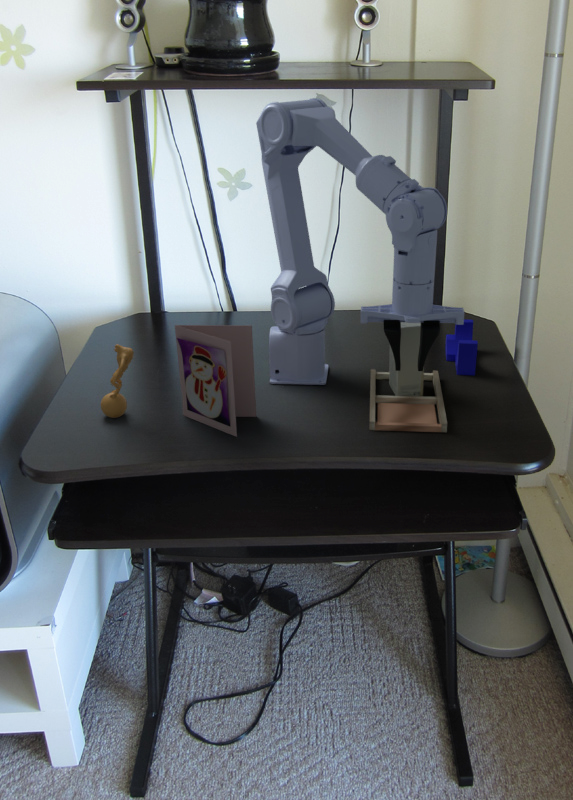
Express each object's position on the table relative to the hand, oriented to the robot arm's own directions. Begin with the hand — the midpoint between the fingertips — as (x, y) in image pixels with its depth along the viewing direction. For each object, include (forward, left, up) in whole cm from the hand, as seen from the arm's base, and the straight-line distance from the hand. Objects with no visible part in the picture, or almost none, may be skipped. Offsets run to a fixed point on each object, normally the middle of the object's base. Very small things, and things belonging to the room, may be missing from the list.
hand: (409, 368), depth 109 cm
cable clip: (+10, +22, -8) cm, 26 cm away
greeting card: (-28, -3, -8) cm, 29 cm away
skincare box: (0, +9, -8) cm, 12 cm away
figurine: (-44, -3, -8) cm, 45 cm away
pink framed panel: (0, +5, -8) cm, 9 cm away
